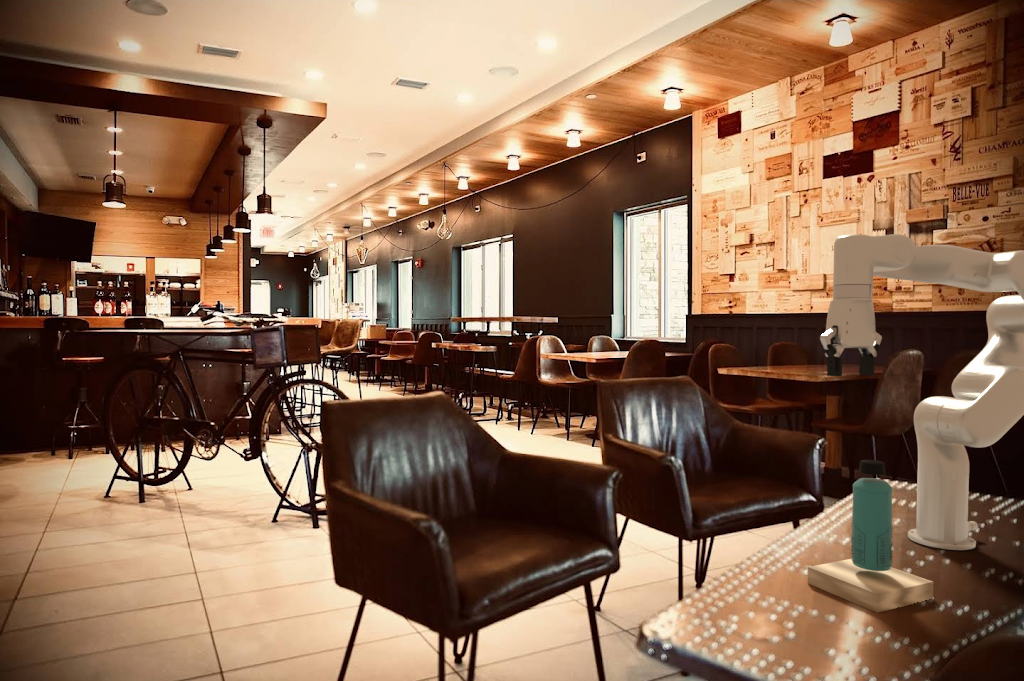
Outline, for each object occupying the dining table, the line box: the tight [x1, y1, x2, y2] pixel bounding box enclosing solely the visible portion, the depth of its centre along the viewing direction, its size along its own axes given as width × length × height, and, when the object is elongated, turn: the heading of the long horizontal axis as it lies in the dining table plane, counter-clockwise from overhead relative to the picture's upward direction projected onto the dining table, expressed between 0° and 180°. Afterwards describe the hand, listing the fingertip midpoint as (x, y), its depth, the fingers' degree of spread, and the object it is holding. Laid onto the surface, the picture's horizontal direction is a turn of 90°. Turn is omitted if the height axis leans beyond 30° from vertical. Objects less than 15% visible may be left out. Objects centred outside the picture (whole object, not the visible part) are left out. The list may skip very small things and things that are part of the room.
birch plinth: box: [807, 558, 934, 613], centre depth 123 cm, size 14×14×3 cm
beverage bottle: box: [850, 459, 894, 571], centre depth 123 cm, size 6×7×20 cm
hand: (850, 375), depth 147 cm, fingers open, 9 cm apart
